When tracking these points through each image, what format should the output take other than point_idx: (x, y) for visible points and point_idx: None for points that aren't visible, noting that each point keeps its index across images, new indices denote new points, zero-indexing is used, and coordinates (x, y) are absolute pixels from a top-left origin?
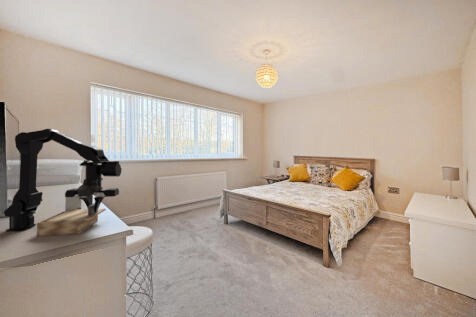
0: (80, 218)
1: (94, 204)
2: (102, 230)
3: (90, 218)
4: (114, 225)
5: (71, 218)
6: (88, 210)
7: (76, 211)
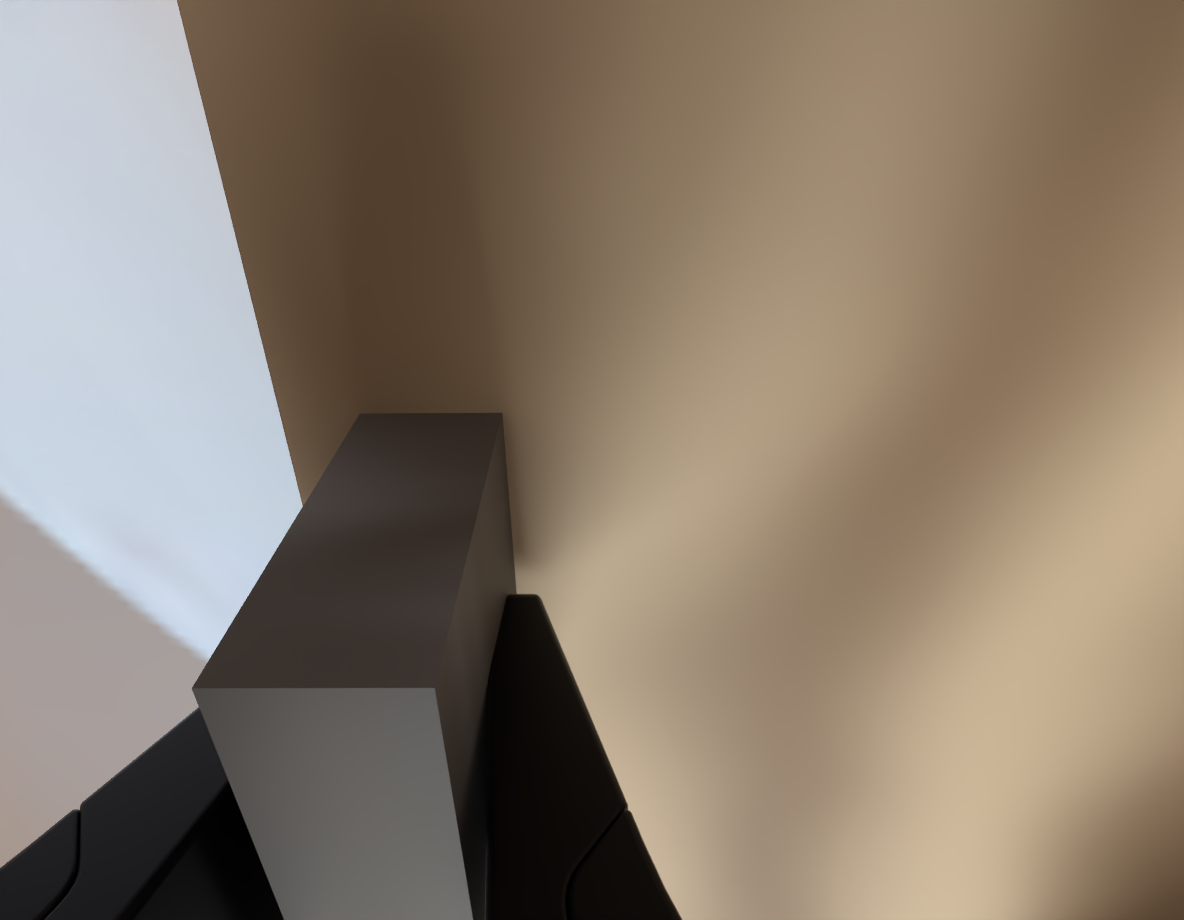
0: (575, 5)
1: (328, 914)
2: (129, 120)
3: (209, 66)
4: (100, 433)
5: (961, 49)
6: (459, 525)
7: (1028, 809)
